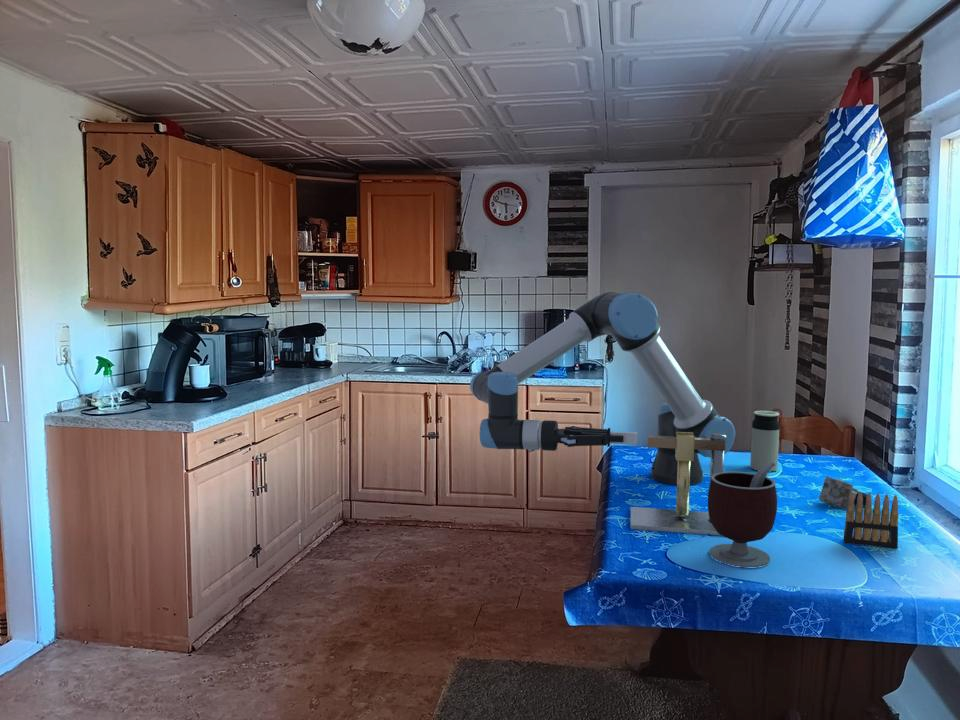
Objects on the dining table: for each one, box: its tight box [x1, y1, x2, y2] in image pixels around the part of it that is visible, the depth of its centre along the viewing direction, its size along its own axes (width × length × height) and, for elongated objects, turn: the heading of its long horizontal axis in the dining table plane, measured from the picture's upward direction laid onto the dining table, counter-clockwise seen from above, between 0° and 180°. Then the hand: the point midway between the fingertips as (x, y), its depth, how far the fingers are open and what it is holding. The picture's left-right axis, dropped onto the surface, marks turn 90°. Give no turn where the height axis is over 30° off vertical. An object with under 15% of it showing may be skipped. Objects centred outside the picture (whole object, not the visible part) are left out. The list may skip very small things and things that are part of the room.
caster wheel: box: [818, 476, 868, 510], centre depth 191 cm, size 7×11×10 cm
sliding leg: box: [675, 432, 695, 518], centre depth 175 cm, size 4×6×21 cm
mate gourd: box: [707, 462, 778, 567], centre depth 154 cm, size 16×14×20 cm
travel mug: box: [749, 410, 780, 472], centre depth 225 cm, size 8×8×18 cm
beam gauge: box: [630, 433, 726, 536], centre depth 174 cm, size 26×14×22 cm, turn 78°
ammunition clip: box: [842, 491, 899, 550], centre depth 161 cm, size 11×2×12 cm, turn 72°
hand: (637, 438), depth 175 cm, fingers closed
